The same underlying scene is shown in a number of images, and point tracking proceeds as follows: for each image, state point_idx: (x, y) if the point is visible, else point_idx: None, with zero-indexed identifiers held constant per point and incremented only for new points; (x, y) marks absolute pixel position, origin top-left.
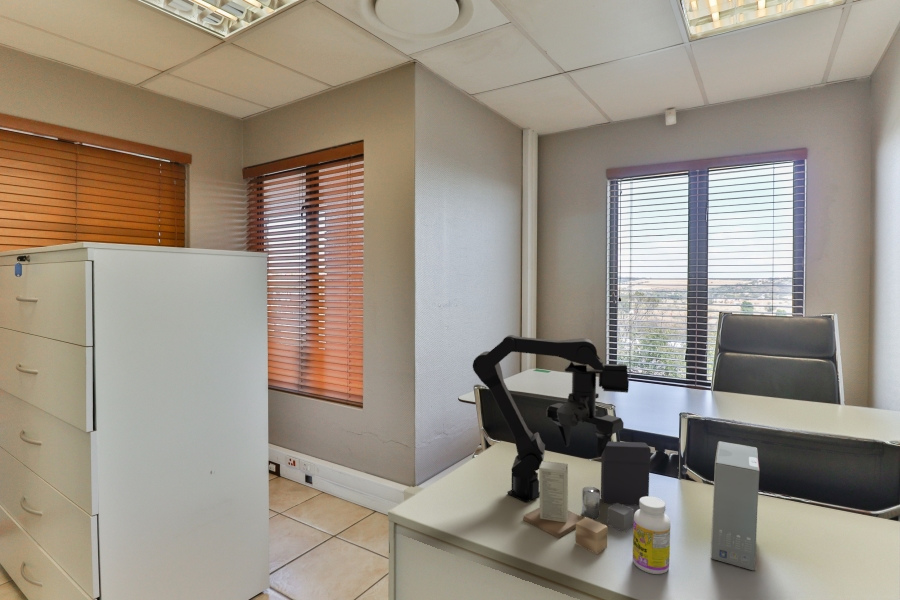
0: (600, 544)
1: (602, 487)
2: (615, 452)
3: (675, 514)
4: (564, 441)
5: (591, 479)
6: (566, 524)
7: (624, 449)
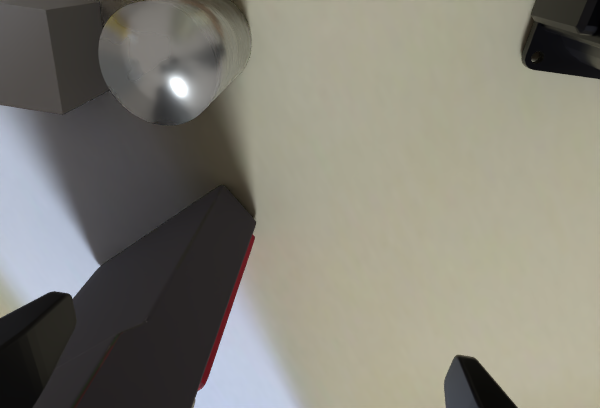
0: None
1: (219, 232)
2: None
3: (8, 263)
4: (501, 400)
5: (366, 340)
6: None
7: None
